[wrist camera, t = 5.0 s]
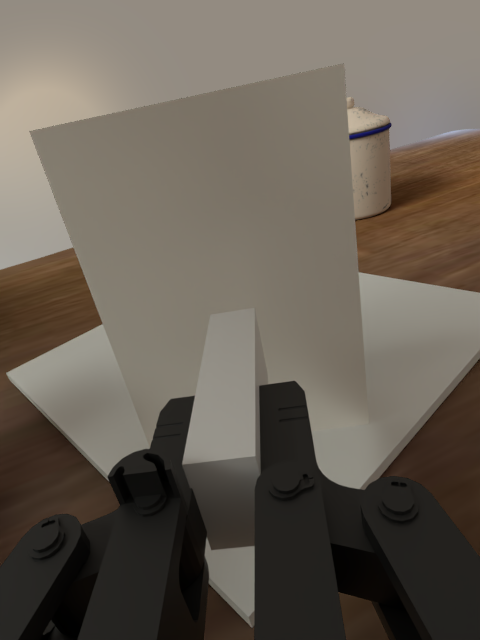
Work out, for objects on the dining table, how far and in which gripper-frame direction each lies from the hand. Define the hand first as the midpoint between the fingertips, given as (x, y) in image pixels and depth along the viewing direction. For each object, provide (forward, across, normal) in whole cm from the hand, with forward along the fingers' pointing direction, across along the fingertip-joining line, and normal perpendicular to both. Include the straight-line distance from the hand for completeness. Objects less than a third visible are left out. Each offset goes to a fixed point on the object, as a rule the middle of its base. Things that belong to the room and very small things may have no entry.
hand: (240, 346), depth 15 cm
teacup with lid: (+38, +9, -7) cm, 39 cm away
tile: (+4, 0, -6) cm, 7 cm away
